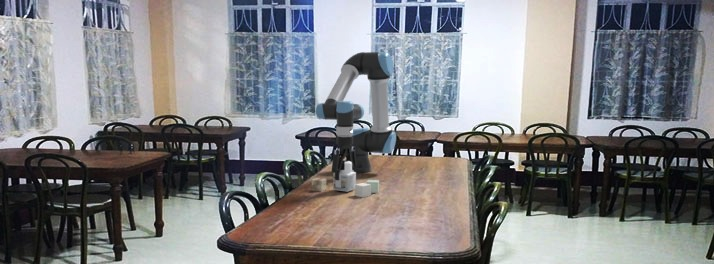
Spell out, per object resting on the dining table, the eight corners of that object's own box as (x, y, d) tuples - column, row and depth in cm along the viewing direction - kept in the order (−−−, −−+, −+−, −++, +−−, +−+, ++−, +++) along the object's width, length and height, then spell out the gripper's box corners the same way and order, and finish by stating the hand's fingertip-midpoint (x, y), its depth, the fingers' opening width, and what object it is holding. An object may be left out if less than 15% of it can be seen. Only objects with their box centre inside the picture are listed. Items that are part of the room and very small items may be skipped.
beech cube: (311, 190, 238) (311, 179, 237) (316, 188, 242) (316, 177, 242) (321, 191, 236) (321, 180, 235) (326, 189, 240) (326, 178, 240)
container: (332, 190, 236) (333, 161, 235) (341, 186, 243) (341, 159, 242) (347, 192, 233) (348, 163, 231) (356, 188, 240) (356, 160, 238)
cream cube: (354, 195, 229) (354, 184, 228) (363, 193, 232) (363, 182, 232) (362, 197, 225) (362, 186, 225) (370, 195, 229) (371, 184, 228)
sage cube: (366, 192, 234) (366, 181, 234) (368, 190, 239) (368, 179, 239) (377, 193, 234) (378, 182, 233) (378, 190, 239) (379, 180, 238)
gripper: (336, 138, 224) (336, 190, 227) (365, 134, 241) (365, 182, 244) (323, 137, 229) (323, 188, 232) (352, 132, 246) (352, 180, 248)
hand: (344, 185), depth 238 cm, fingers closed on container, 8 cm apart
